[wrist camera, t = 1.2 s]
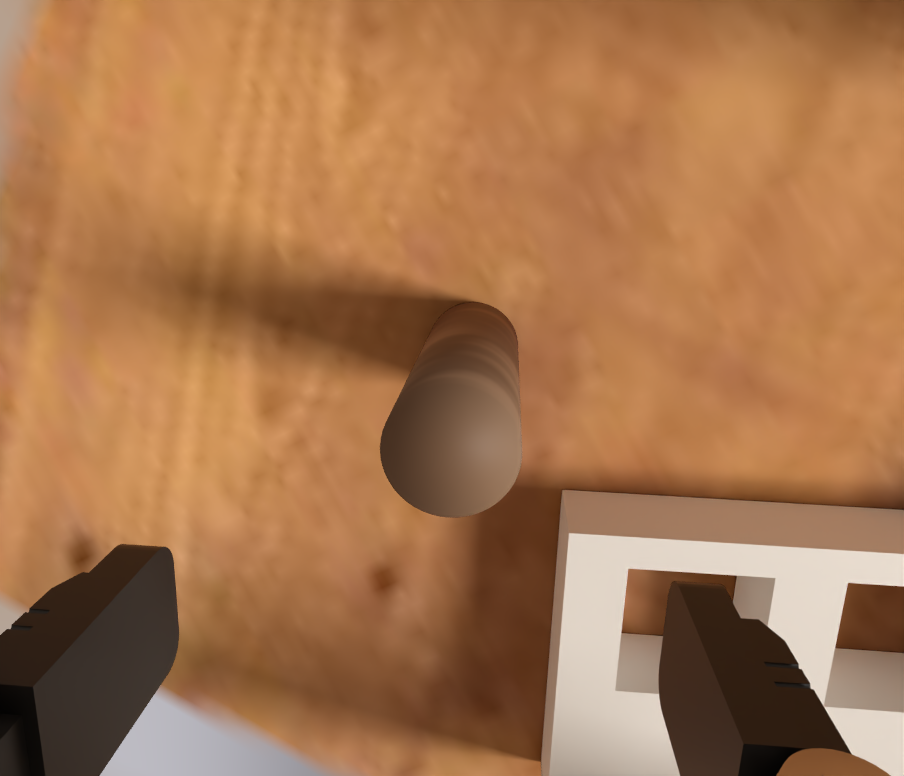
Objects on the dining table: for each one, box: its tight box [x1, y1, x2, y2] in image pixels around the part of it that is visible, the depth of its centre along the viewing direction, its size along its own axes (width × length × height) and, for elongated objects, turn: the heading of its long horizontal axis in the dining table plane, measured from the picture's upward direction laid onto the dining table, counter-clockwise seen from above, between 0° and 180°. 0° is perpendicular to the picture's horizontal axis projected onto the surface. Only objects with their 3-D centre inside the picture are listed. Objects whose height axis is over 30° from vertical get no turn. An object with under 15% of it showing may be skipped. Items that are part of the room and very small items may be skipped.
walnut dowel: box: [380, 302, 522, 517], centre depth 25 cm, size 4×4×12 cm
